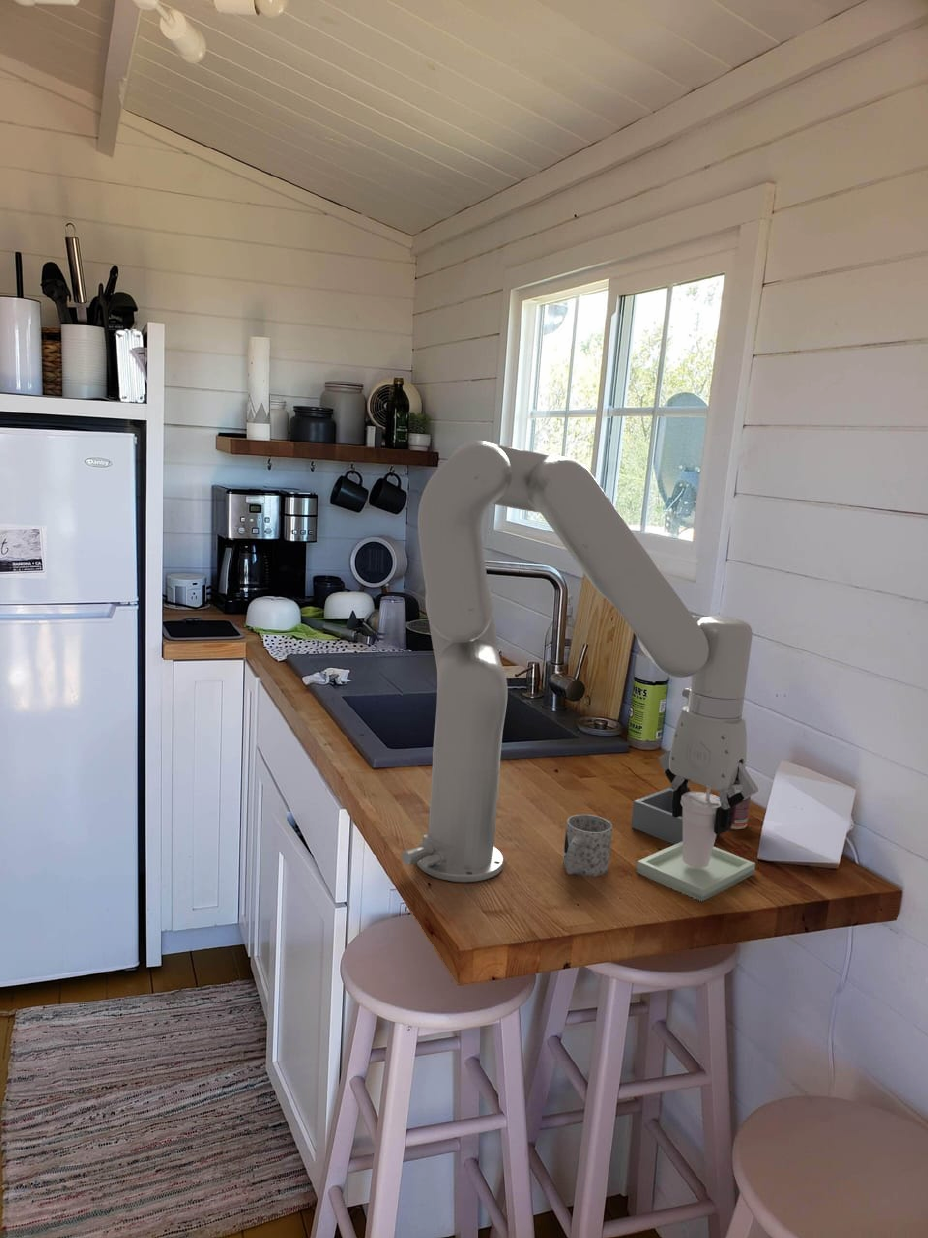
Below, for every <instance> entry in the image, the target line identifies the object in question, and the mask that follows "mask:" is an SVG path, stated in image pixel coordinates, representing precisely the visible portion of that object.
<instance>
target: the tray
mask: <svg viewBox="0 0 928 1238" xmlns="http://www.w3.org/2000/svg"><path fill="white" fill-rule="evenodd" d="M636 865H637V866H636V873H637V874H639V875H641V876H642V877H645V878H647V879H650V880H651V881H655V882H656V883H659V884H660V885H663V886H665V887H667V888H669V889H671V888H672V889H671V890H674V891H676V890H677V892H678V891H679V892H678V893H680V892H681V893H680V894H682V895H685V894H686V895H685V896H687V895H689V896H690V897H689V896H688V897H689V898H691V897H693V898H692V899H693V900H696V899H697V900H696V901H698V900H699V901H698V902H700V901H701V902H700V903H703V902H705V901H706V899H707V900H708V898H709V899H711V898H712V897H714V896H716V895H718V894H720V893H723V892H724V891H725V890H727V889H729V888H731V887H733V886H736V884H737V885H738V883H741V882H742V881H744V880H746V879H748V878H750V877H751V876H754V875H755V869H756V868H755V867H756V863H755V862H754V861H751V860H748V859H746V858H744V857H740V856H738V855H737V854H736V855H735V854H734V853H731V852H729V851H726V850H723V849H721V848H719V847H716V846H713V850H712V853H711V857H710V861H709V864H708V866H707V867H702V868H698V867H693V866H689V865H687V864H686V863H684V862H683V841H682V842H680V843H677V844H675V845H674V844H672V845H670V846H669V847H666V848H664V849H661V850H659V851H657V852H655V853H653V854H650V855H648V856H645V857H644V858H641V859H639V860H637V864H636ZM710 897H711V898H710ZM704 900H705V901H704ZM702 901H703V902H702Z"/></svg>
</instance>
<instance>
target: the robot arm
mask: <svg viewBox="0 0 928 1238" xmlns="http://www.w3.org/2000/svg"><path fill="white" fill-rule="evenodd" d="M491 505H496V506H502V507H506V508H511V509H516V510H522V511H528V512H533V513H540V514H541V515H542V516H543V518H544V519H545V521H546V522H547V524H548V525H549V527H550V528H551V529H552V531H553V532H554V534H555V535H556V536H557V537H558V540H560V541H561V543H562V544H563V546H564V547H565V549H566V550H567V551H568V553H569V554H570V556H571V557H572V559H573V560H574V561H575V563H576V564H577V566H578V567H579V568H580V570H581V571H582V572H583V574H584V575H585V577H586V578H587V580H588V581H589V582H590V584H591V585H592V586H593V587H594V588H595V589H596V590H597V592H599V594H601V596H603V598H605V599H606V600H607V601H608V602H609V604H611V605H612V607H613V608H614V609H615V610H616V612H618V613H619V615H620V616H621V617H622V619H623V620H624V621H625V622H626V624H627V625H628V626H629V628H630V629H631V630H632V632H633V633H634V634H635V636H636V638H637V643H638V646H639V647H640V650H641V651H642V652H643V654H644V655H645V656H646V657H647V658H648V659H649V660H650V661H651V662H652V663H653V664H654V665H655V666H656V667H657V668H658V670H660V671H661V672H662V673H663V674H665V675H667V676H669V677H671V678H678V679H683V678H684V679H686V678H689V677H690V687H688V688H686V687H685V688H683V690H682V692H681V695H682V697H683V698H686V699H687V702H686V704H687V706H684V707H682V709H681V711H680V713H679V717H678V719H677V722H676V725H675V727H674V728H675V729H674V732H673V737H672V742H671V747H670V749H669V750H668V751H666V752H665V753H663V754H662V755H661V756H659V757H658V761H659V763H660V765H661V766H662V768H663V771H665V775H666V777H667V779H668V781H669V783H670V788H671V789H672V790H674V793H673V801H672V808H673V811H672V817H675V818H677V817H680V816H682V812H683V806H682V805H681V803H680V801H681V797H682V795H683V794H685V793H688V792H691V788H690V787H688V785H689V784H690V783H691V782H692V783H695V784H698V785H701V786H704V787H706V788H707V787H709V788H711V790H715V791H717V794H718V797H719V798H720V802H721V806H720V807H718V808H717V812H716V819H715V827H714V832H715V834H717V835H721V834H724V833H726V832H728V831H729V830H730V829H732V828H731V826H732V821H733V813H734V806H736V805H738V804H739V803H741V802H742V801H744V800H746V799H747V798H748V797H750V796H754V794H756V793H757V792H758V791H759V788H758V786H757V785H756V783H755V781H754V779H753V778H752V776H751V775H750V773H749V772H748V771H747V769H746V765H747V748H748V739H747V737H748V735H747V733H748V732H747V723H746V719H745V718H744V717H743V709H744V702H745V695H746V687H747V680H748V673H749V667H750V666H749V665H750V660H751V651H752V644H753V643H752V642H753V633H754V632H753V628H752V626H751V625H750V623H748V622H747V621H744V620H743V619H738V618H733V617H728V616H708V617H707V616H705V617H703V616H699V615H692V613H691V612H690V610H689V609H688V608H687V606H686V605H685V603H684V602H683V601H682V600H681V598H680V597H679V595H678V593H676V591H675V590H674V588H673V587H672V585H671V584H670V583H669V582H668V580H667V578H665V576H664V575H663V574H662V572H661V571H660V570H659V568H658V567H657V566H656V564H655V562H654V561H653V558H652V557H650V555H649V553H648V552H647V551H646V548H644V546H643V545H642V544H641V542H640V541H639V540H638V538H637V537H636V535H635V534H634V533H633V532H632V531H633V530H631V529H630V527H629V525H628V524H627V522H625V520H624V519H623V517H622V516H621V515H620V513H619V511H618V510H617V509H616V507H615V505H614V504H613V503H612V501H611V500H610V498H609V497H608V496H607V494H606V492H605V491H604V489H603V488H602V487H601V485H600V483H598V481H597V480H596V478H595V477H594V475H593V474H592V472H590V471H589V469H588V468H587V466H585V465H584V464H583V463H582V462H580V461H579V460H577V459H574V458H572V457H571V458H570V457H567V456H562V455H555V454H554V455H553V454H550V453H549V454H548V453H541V452H537V451H536V452H535V451H531V450H525V449H521V448H516V447H511V446H506V445H502V444H497V443H493V442H489V441H484V440H470V441H467V442H465V443H463V444H461V445H459V446H458V447H457V448H456V449H455V450H454V451H453V452H452V454H451V456H450V457H449V458H448V459H447V460H445V461H444V463H442V464H441V465H440V466H439V468H437V469H436V470H435V472H434V473H433V474H432V476H431V477H430V479H429V481H428V482H427V484H426V485H425V488H424V489H423V493H422V494H421V498H420V501H419V506H418V510H417V511H418V512H417V532H418V533H417V534H418V540H419V542H418V543H419V550H420V558H421V559H420V560H421V565H422V573H423V580H424V588H425V596H424V597H425V600H424V601H425V611H426V615H427V618H428V623H429V630H430V636H431V641H432V649H433V653H434V658H435V659H434V660H435V665H436V676H437V677H436V681H437V686H436V688H437V689H436V708H435V709H436V710H435V721H434V722H435V724H434V735H433V736H434V737H433V749H432V771H431V772H432V774H431V789H430V802H429V803H430V804H429V805H430V806H429V818H428V819H429V821H428V833H427V834H423V835H422V843H420V844H419V845H418V846H417V847H416V848H415V847H414V848H412V849H408V850H405V851H403V852H402V854H401V860H402V862H403V863H404V865H405V866H409V865H412V864H415V863H416V865H417V866H418V868H420V870H421V871H423V872H424V873H425V874H427V875H429V876H431V877H433V878H436V879H439V880H444V881H449V882H454V883H475V882H481V881H486V880H489V879H491V878H494V877H495V876H497V875H498V874H499V873H500V872H501V871H502V870H503V867H504V856H503V854H502V853H501V852H500V851H499V849H497V848H496V847H495V835H496V834H495V833H496V823H497V822H496V819H497V810H498V809H497V806H498V795H499V780H500V772H501V771H500V768H501V753H502V743H503V741H502V740H503V732H504V731H503V730H504V725H505V718H506V711H507V704H508V680H507V676H506V673H505V669H504V666H503V664H502V662H501V657H500V652H499V647H498V639H497V634H496V632H497V631H496V626H495V621H494V620H495V619H494V609H495V608H494V597H493V594H492V590H491V588H490V585H489V581H488V580H489V579H488V575H487V574H488V573H487V568H486V567H487V566H486V562H485V555H484V554H485V553H484V542H483V536H482V535H483V534H482V522H483V517H484V515H485V513H486V511H487V510H488V508H489V507H491ZM740 784H741V785H742V787H743V789H742V790H741V791H740V792H738V793H737V792H736V788H735V785H740Z"/></svg>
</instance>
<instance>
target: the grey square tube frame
mask: <svg viewBox="0 0 928 1238" xmlns="http://www.w3.org/2000/svg"><path fill="white" fill-rule="evenodd" d="M673 793H674V790H672V789H671V787H667V788H665V789H662V790H660V791H656V792H654V793H651V794H648V795H646V796H643V797H640V798H637V799H635V800H633V806H632V815H631V826H630V827H631V828H633V829H635V830H637V831H640V832H643V833H644V834H647V835H650V836H652V837H655V838H657V839H660V840H662V841H664V842H666V843H669V844H672V845H675V844H677V843H680V842H682V841H683V816H680V817H677V818H675V817H672V811H673V808H672V801H673Z"/></svg>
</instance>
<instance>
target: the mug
mask: <svg viewBox="0 0 928 1238" xmlns="http://www.w3.org/2000/svg"><path fill="white" fill-rule="evenodd" d="M612 833H613V824H612V822H611V821H609V820H608V819H606V818H604V817H602V816H599V815H593V814H575V815H571V816H570V817H568V818H567V820H566V827H565V836H564V837H565V838H564V847H563V857H562V859H563V860H562V867H563V868H564V869H565V873H567V874H568V875H573V874H575V875H576V876H577V875H579V876H583V877H599V876H603V875H605V874H606V873H607V872H608V871H609V864H610V856H611V855H610V854H611V846H612Z"/></svg>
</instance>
